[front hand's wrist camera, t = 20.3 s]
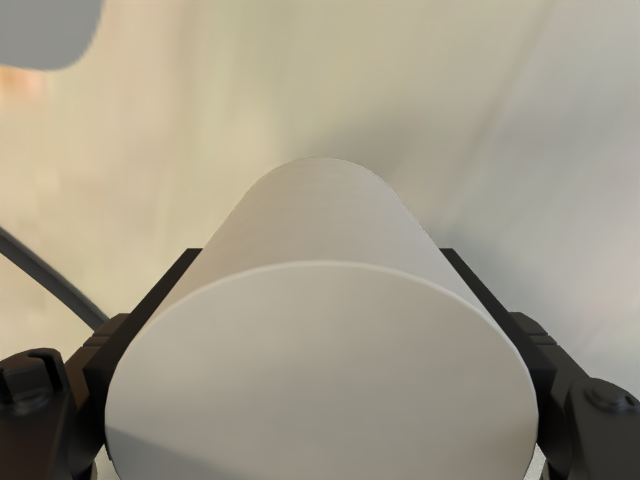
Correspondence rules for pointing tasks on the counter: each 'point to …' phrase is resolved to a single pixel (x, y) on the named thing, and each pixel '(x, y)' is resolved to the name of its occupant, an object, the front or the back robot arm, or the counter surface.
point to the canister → (321, 350)
